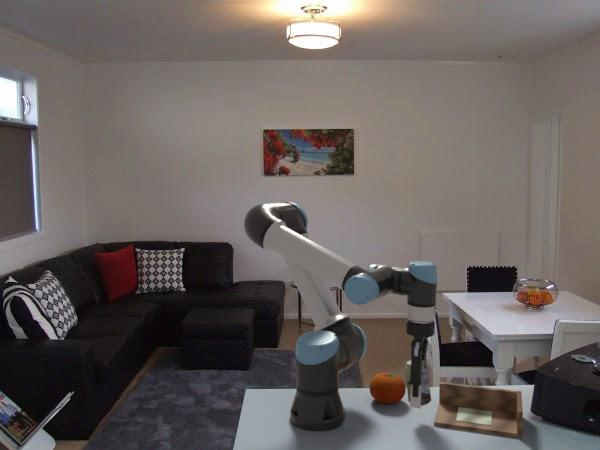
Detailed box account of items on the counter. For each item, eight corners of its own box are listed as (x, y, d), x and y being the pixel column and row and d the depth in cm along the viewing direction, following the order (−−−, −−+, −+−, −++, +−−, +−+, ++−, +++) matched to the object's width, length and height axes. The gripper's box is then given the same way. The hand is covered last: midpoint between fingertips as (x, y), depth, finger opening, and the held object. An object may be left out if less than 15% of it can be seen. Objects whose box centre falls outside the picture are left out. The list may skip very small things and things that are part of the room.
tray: (434, 425, 150) (434, 400, 150) (439, 405, 163) (440, 381, 163) (522, 438, 143) (522, 411, 142) (520, 415, 156) (521, 391, 155)
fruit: (365, 405, 164) (365, 379, 163) (373, 392, 173) (373, 367, 172) (401, 410, 160) (402, 383, 159) (408, 397, 169) (408, 371, 169)
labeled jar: (431, 410, 149) (433, 366, 147) (403, 407, 150) (405, 364, 149) (430, 400, 155) (432, 358, 153) (403, 397, 156) (405, 356, 155)
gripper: (430, 331, 140) (426, 419, 142) (438, 312, 157) (435, 391, 160) (400, 327, 142) (397, 414, 145) (412, 309, 160) (408, 387, 163)
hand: (417, 402), depth 152 cm, fingers closed on labeled jar, 6 cm apart
